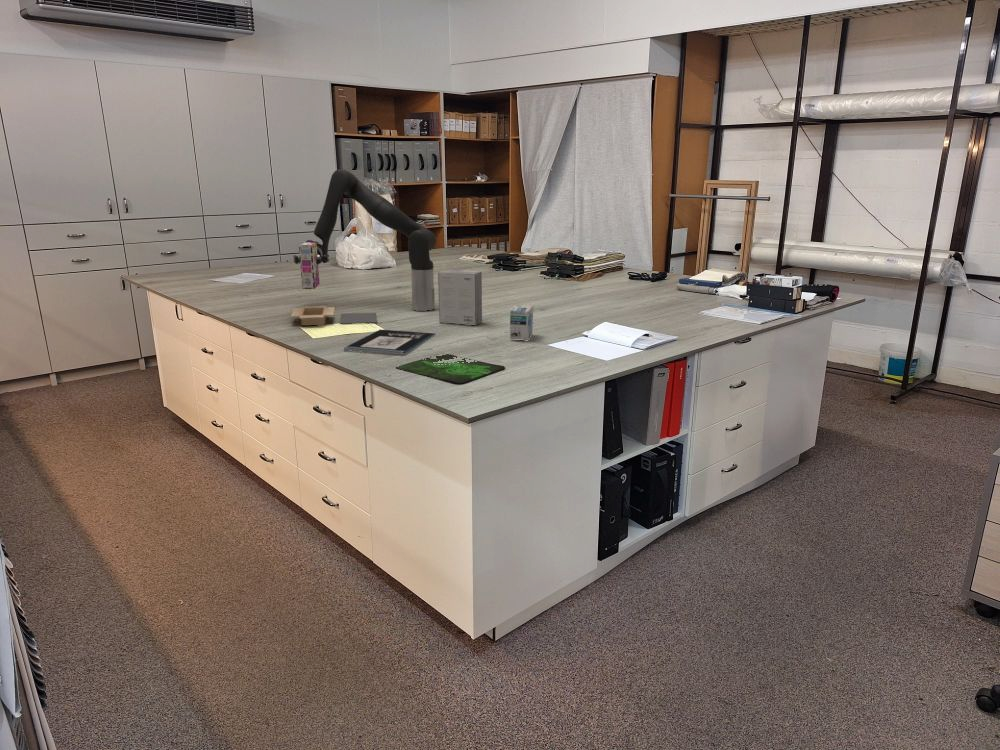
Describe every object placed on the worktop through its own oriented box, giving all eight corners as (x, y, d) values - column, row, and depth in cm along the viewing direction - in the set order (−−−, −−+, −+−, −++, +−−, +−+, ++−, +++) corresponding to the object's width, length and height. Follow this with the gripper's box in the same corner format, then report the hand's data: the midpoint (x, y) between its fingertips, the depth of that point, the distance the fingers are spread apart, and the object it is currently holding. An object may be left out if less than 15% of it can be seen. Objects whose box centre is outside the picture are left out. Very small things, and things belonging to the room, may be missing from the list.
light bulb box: (528, 341, 236) (528, 311, 233) (509, 340, 237) (509, 310, 234) (532, 334, 246) (533, 305, 243) (514, 333, 247) (515, 304, 244)
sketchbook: (435, 337, 244) (435, 331, 244) (404, 358, 216) (403, 352, 216) (380, 332, 249) (379, 327, 248) (342, 352, 221) (342, 346, 221)
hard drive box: (482, 322, 264) (482, 271, 259) (475, 326, 257) (475, 274, 252) (446, 319, 269) (445, 269, 263) (438, 323, 262) (437, 271, 256)
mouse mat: (391, 369, 204) (391, 365, 203) (441, 354, 220) (441, 351, 220) (460, 386, 188) (460, 383, 187) (507, 369, 204) (508, 366, 204)
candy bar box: (315, 289, 254) (311, 245, 249) (302, 289, 253) (298, 245, 249) (320, 284, 265) (317, 241, 260) (307, 284, 264) (303, 242, 259)
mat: (375, 313, 278) (375, 312, 278) (377, 323, 261) (377, 322, 261) (341, 314, 275) (341, 313, 275) (339, 324, 258) (339, 323, 258)
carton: (335, 315, 275) (334, 305, 273) (333, 326, 254) (333, 316, 253) (295, 316, 272) (294, 306, 270) (290, 328, 251) (289, 317, 250)
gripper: (293, 246, 269) (289, 252, 254) (330, 246, 272) (328, 251, 256) (294, 265, 272) (291, 272, 256) (331, 264, 274) (329, 271, 258)
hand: (309, 261), depth 256 cm, fingers closed on candy bar box, 5 cm apart
